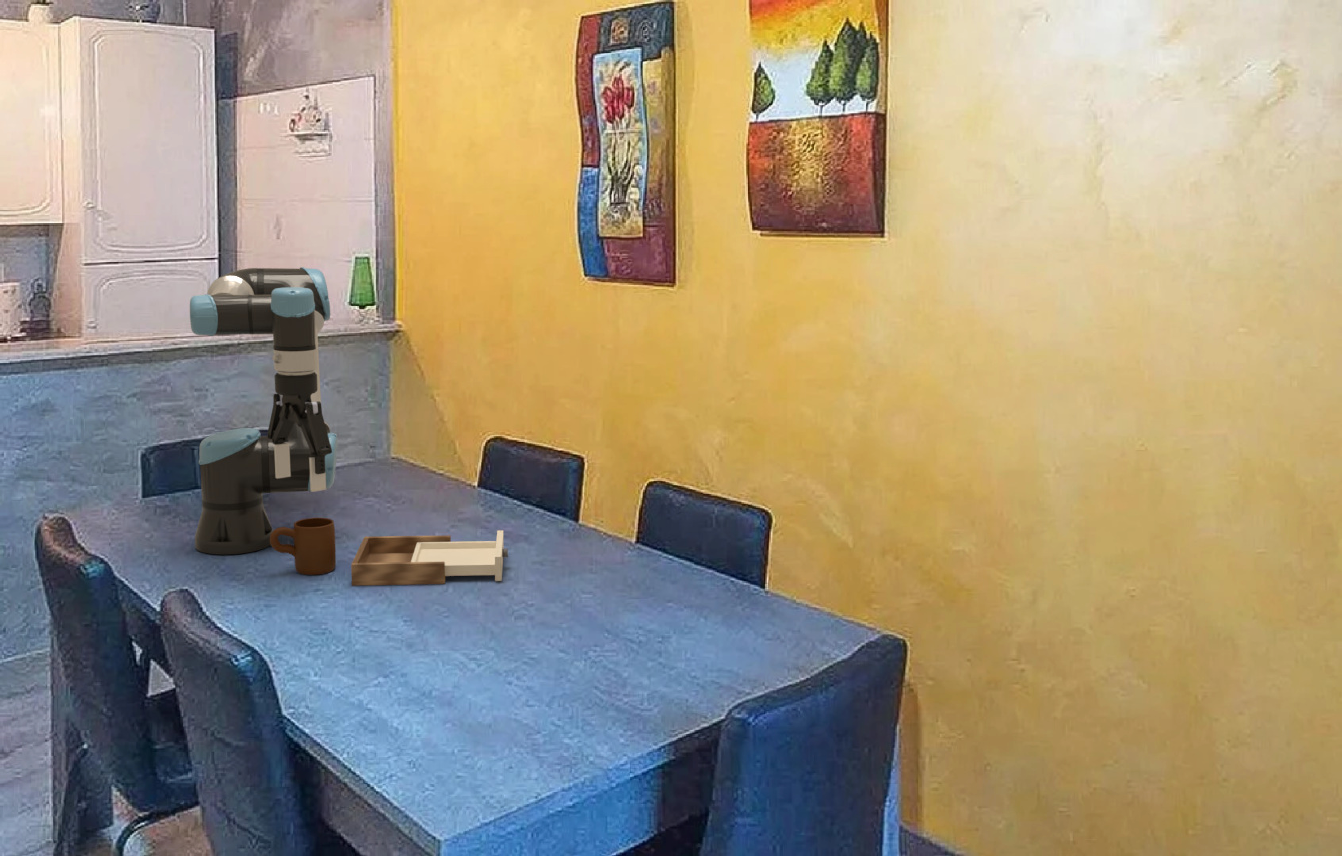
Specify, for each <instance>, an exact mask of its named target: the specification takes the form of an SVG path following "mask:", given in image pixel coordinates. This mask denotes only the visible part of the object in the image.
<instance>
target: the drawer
mask: <svg viewBox="0 0 1342 856" xmlns="http://www.w3.org/2000/svg"><path fill="white" fill-rule="evenodd" d="M496 533H497V534H496V540H495V541H494V540H488V541H487V540H486V541H485V540H484V541H483V540H481V541H480V540H479V541H472V540H471V541H451V542H417V544H416V547H415V551H414V554H413V557H412V560H411V562H445V576H446V577H450V576H451V577H454V576H458V577H459V576H461V577H462V576H464V577H465V576H494V580H495V582H502V579H503V578H502V577H503V568H504V567H503V566H504V558H509V552H508V551H509V549H508V548H505V547H504V545H505V544H504V530H496Z"/></svg>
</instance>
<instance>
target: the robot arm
mask: <svg viewBox="0 0 1342 856" xmlns="http://www.w3.org/2000/svg"><path fill="white" fill-rule="evenodd" d="M330 318H331V305H330V298H329V290H328V286H327V282H326V277H325V275H324V273H323V272H322V271H321V270H320V269H318V268H307V267H299V268H283V267H282V268H277V267H276V268H275V267H274V268H271V267H270V268H269V267H268V268H264V267H261V268H260V267H259V268H258V267H249V268H244V269H239V270H235V271H232V272H229V273H225V274H223V275H221V276H219V277H217V278H216V279H215V280H213V282H211V284H210V286H208V289H207V293H206V294H199V295H193V296H191V297H190V300H189V320H190V321H189V322H190V329H191V331H192V333H193V334H194V335H197V336H207V337H213V336H231V335H232V336H234V335H236V336H237V335H239V336H240V335H272V338H273V356H272V357H271V358H272V361H273V363H274V364H273V365H274V366H273V367H274V370H275V371H276V373H275V374H274V390H275V393H274V394H273V398H272V399H273V402H272V403H273V406H272V411H271V416H270V420H269V423H268V429H267V433H266V434H267V435H261V432H260V430H259V429H257V428H254V427H253V428H252V427H251V428H247V427H245V428H237V429H230V430H225V431H224V430H223V431H221V432H216V433H214V434H211V435H209V436H207V437H205V438H204V439H202V440H201V442H200V443H199V460H198V465H199V466H200V467H199V468H200V488H201V489H200V490H201V506H202V507H201V509H202V510H201V513H200V517H199V520H198V524H197V528H196V531H195V535H194V545H195V546H194V547H195V549H196V551H198V552H201V553H206V554H211V555H237V554H239V555H240V554H247V553H251V552H252V553H253V552H256V551H261V550H263V549H267V548H269V547H270V546H271V544H270V535H271V533H272V532H273V531H274V529H273V527H272V523H271V522H270V519H269V517H268V515H267V514H268V513H267V511H266V509H265V506H264V498H263V495H264V494H275V493H295V492H296V493H297V492H299V493H300V492H309V493H310V492H312V493H313V492H319V491H324V490H325V491H326V490H329V489H330V488H331V487H332V486H333V484H334V482H335V477H336V476H335V475H336V466H337V454H338V452H337V451H338V435H337V433H334V432H331V429H330V426H329V424H328V423H327V422H325V419H324V417H323V410H322V397H321V395H322V394H321V380H320V379H321V378H320V377H321V376H320V374H321V373H320V359H319V358H320V356H319V337H318V333H319V332H320V331H321V330H322V329H323V328H324V325H325V322H326V321H329V320H330Z"/></svg>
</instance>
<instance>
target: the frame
mask: <svg viewBox="0 0 1342 856" xmlns="http://www.w3.org/2000/svg"><path fill="white" fill-rule="evenodd" d="M417 542H452V537H451V535H450V534H449V535H448V534H447V535H393V536H392V535H387V536H384V535H383V536H381V535H380V536H378V535H377V536H374V535H371V536H364V537H363V539H362V541H361V544H360V545H359V547H358V549H357V552H356V554H355V556H354V558H353V560H352V562H351V565H350V566H351V567H350V568H351V569H350V570H351V571H350V572H351V574H350V575H351V586H391V585H392V586H394V585H395V586H397V585H398V586H399V585H405V586H406V585H443V584H444V585H446V580H447V576H445V562H411V560H412V557H413V554H414V551H415V547H416V544H417Z"/></svg>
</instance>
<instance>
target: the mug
mask: <svg viewBox="0 0 1342 856" xmlns="http://www.w3.org/2000/svg"><path fill="white" fill-rule="evenodd" d="M280 536H285V537H289V538H292V539H293V544H289V543H281V542H280V541H279V537H280ZM270 544H271V545H270V546H271V547H272V549H273V550H275V551H276V552H278V553H282V554H289V555H291V556H293V557H294V568H295V571H296V572H297V573H299V574H301V575H305V576H318V575H324V574H327V573H331V572H332V571H333V570H335V569H336V565H337V561H336V560H337V558H336V556H337V555H336V552H337V551H336V529H335V522H334V520H333V519H331V518H327V517H326V518H325V517H307V518H303V519H299V520H297V521H295V522H294V523H293V528H289V527H287V526H280V527H276V528H275V529H273V532H272V533H271V535H270Z"/></svg>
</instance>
